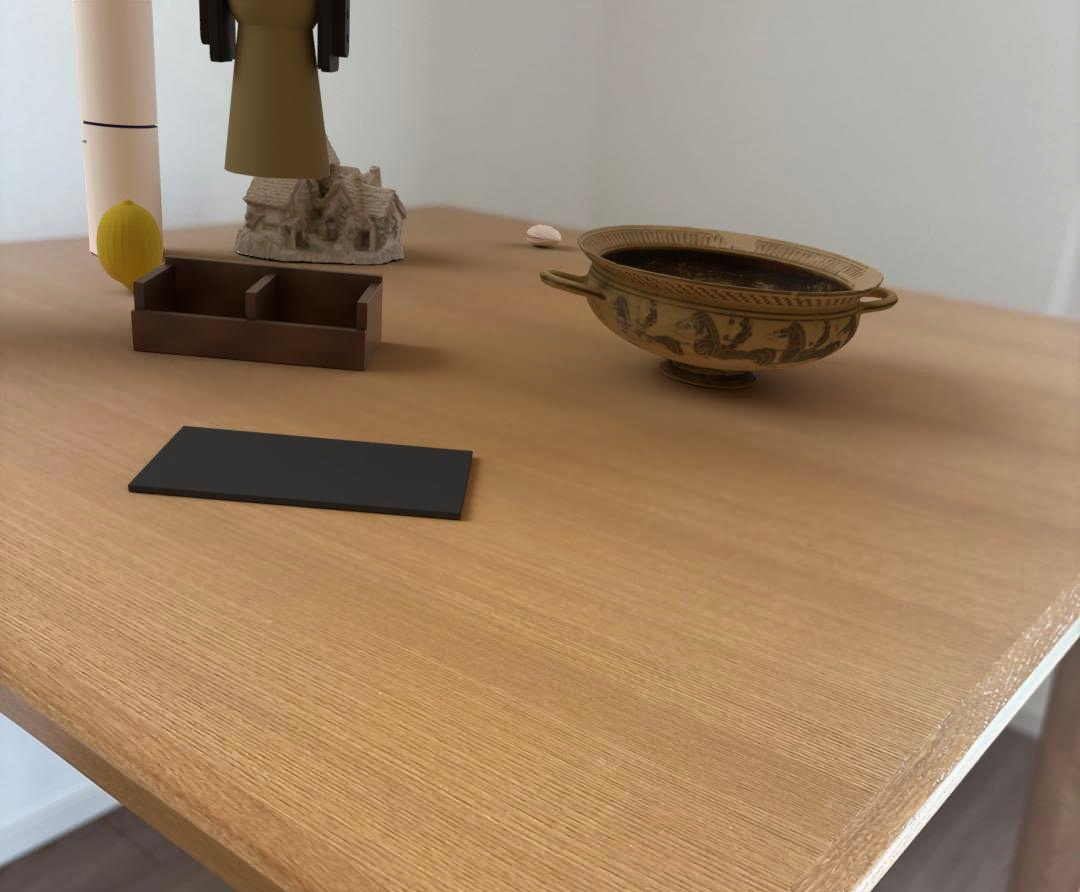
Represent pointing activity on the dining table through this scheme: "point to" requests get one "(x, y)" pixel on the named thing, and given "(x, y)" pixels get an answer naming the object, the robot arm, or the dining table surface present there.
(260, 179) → the ceramic cottage
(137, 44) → the cylindrical container
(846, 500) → the dining table surface
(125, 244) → the lemon
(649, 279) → the ceramic bowl
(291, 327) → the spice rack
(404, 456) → the mat
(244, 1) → the cork
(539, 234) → the clam shell
